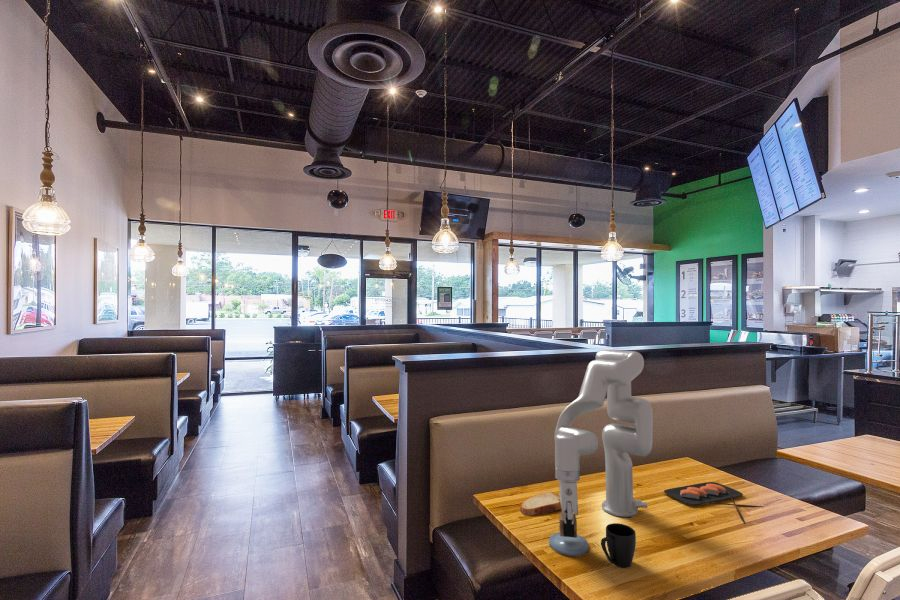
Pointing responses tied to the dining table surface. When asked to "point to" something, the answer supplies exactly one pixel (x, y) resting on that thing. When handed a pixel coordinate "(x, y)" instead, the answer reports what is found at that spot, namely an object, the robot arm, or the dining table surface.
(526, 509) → the bread slice
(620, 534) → the mug
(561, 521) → the block
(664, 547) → the dining table surface
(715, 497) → the sushi plate
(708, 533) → the dining table surface
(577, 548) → the dish
